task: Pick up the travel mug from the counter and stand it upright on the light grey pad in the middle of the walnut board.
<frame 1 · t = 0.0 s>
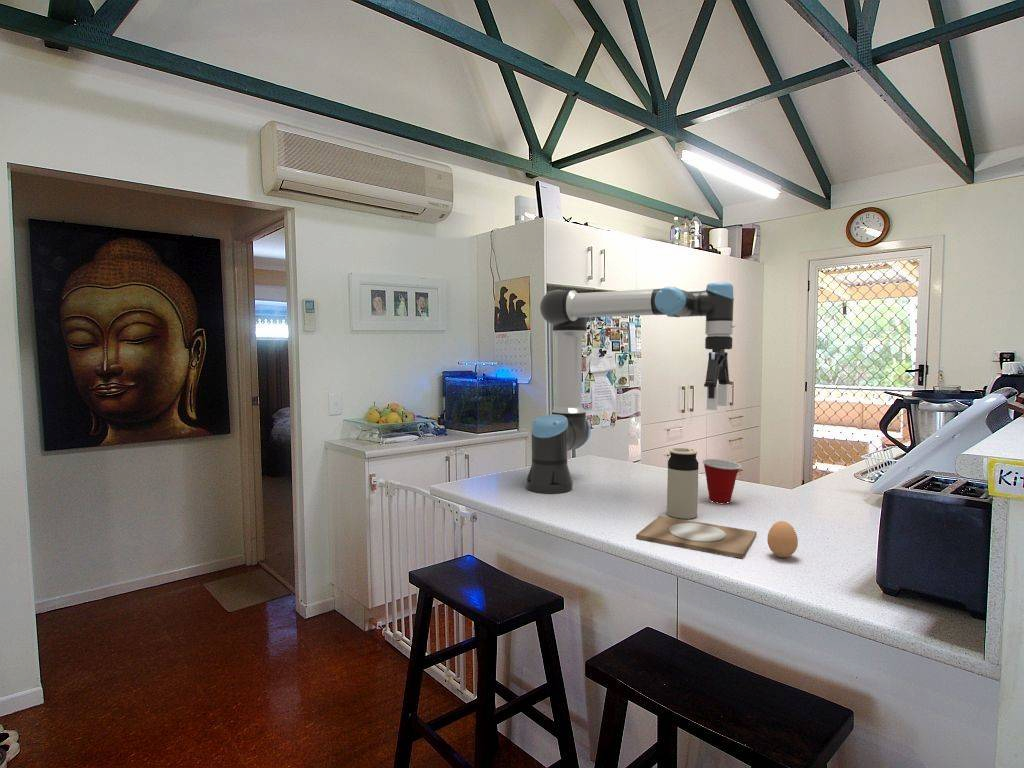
hand: (717, 407, 166), 28 cm above the countertop, tool pointing down, fingers open, 13 cm apart
walnut board: (696, 537, 135), on the countertop
egg: (781, 557, 123), on the countertop
plastic cup: (720, 502, 167), on the countertop
travel mug: (681, 516, 153), on the countertop
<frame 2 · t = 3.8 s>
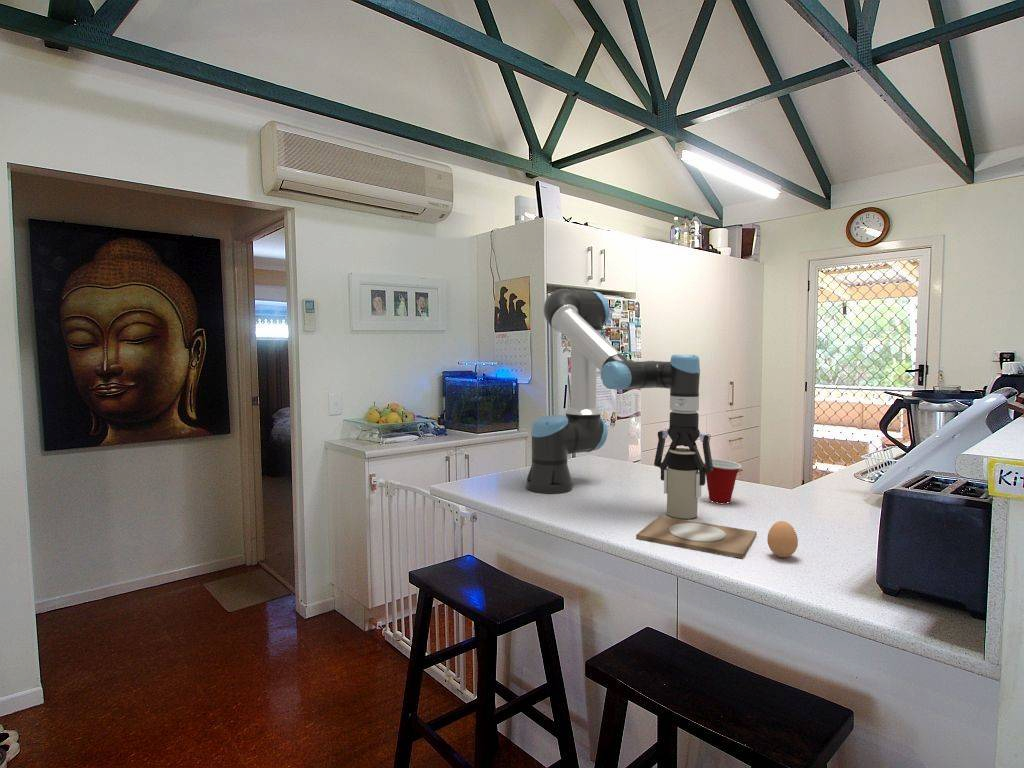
hand: (682, 494, 153), 6 cm above the countertop, tool pointing down, fingers closed on travel mug, 8 cm apart
travel mug: (681, 516, 153), on the countertop, touching gripper
everything else where it was.
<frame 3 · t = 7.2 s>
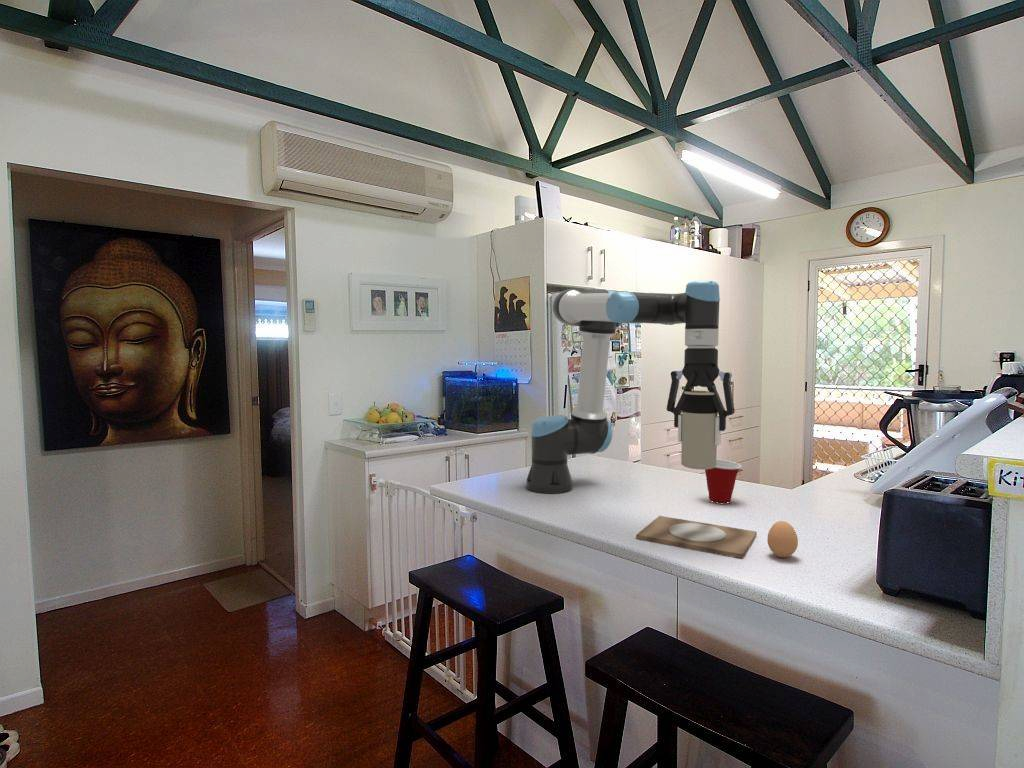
hand: (699, 442, 134), 23 cm above the countertop, tool pointing down, fingers closed on travel mug, 8 cm apart
travel mug: (698, 467, 134), point 17 cm above the countertop, touching gripper
everything else where it was.
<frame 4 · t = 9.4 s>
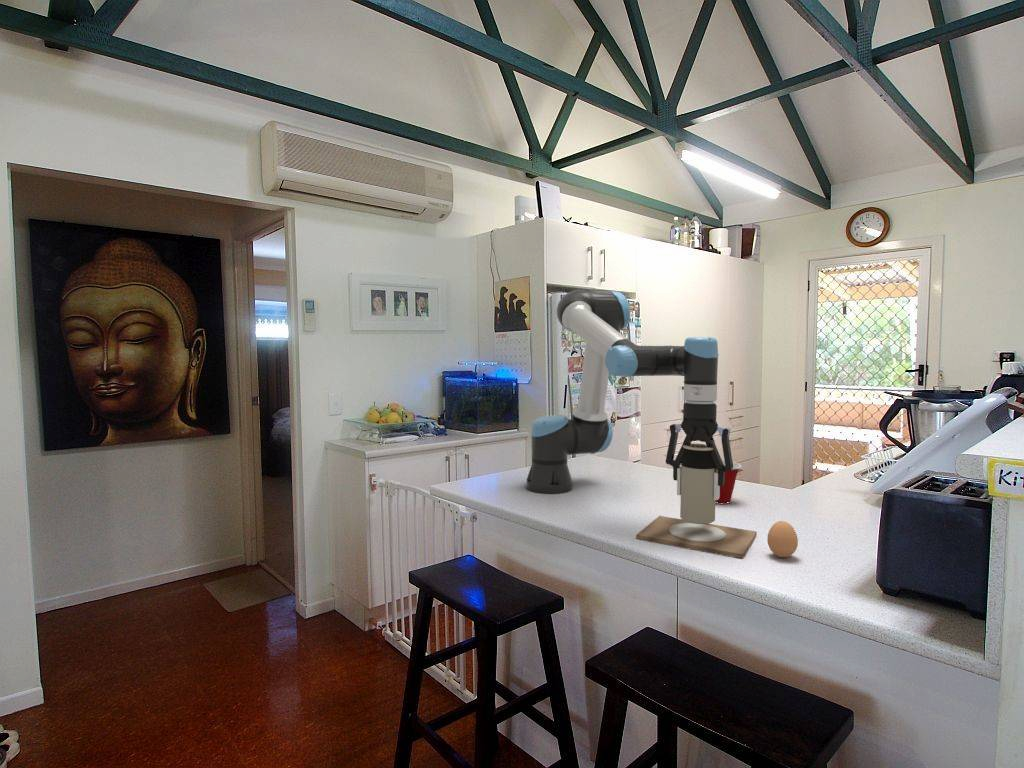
hand: (697, 496, 135), 10 cm above the countertop, tool pointing down, fingers closed on travel mug, 8 cm apart
travel mug: (697, 520, 135), point 4 cm above the countertop, touching gripper
everything else where it was.
when the fingers open (9 cm above the countertop, at t = 10.6 s): travel mug drops 1 cm, resting on walnut board.
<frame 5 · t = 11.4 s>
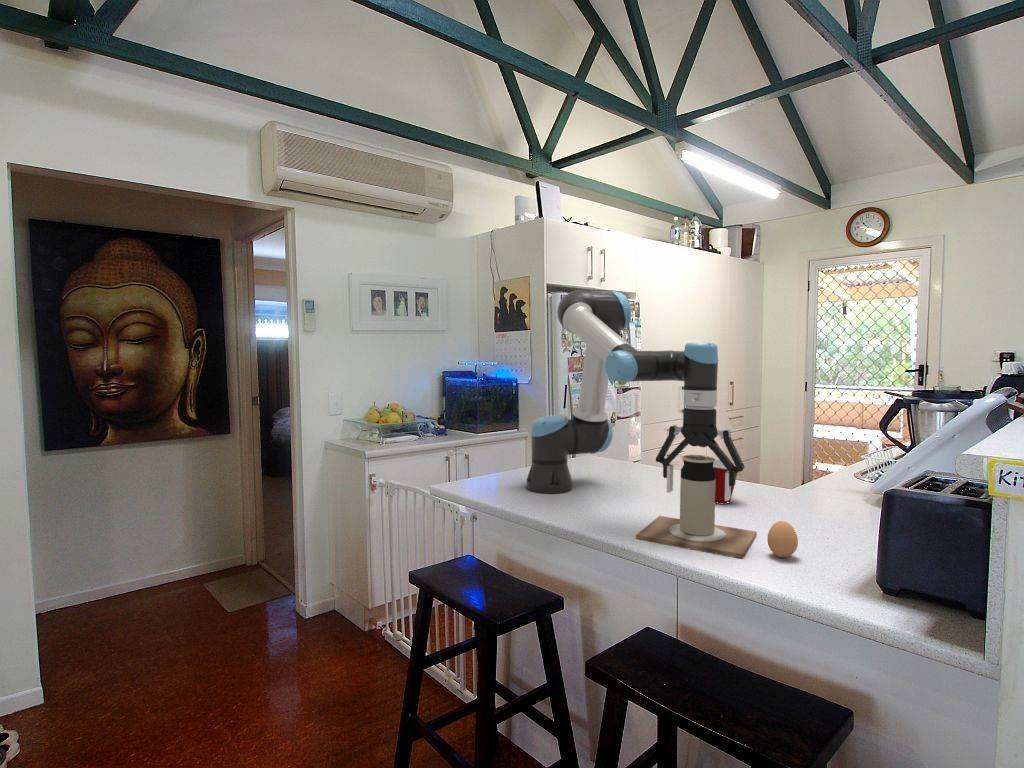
hand: (697, 495, 135), 10 cm above the countertop, tool pointing down, fingers open, 13 cm apart
travel mug: (696, 531, 135), point 1 cm above the countertop, touching walnut board
everything else where it was.
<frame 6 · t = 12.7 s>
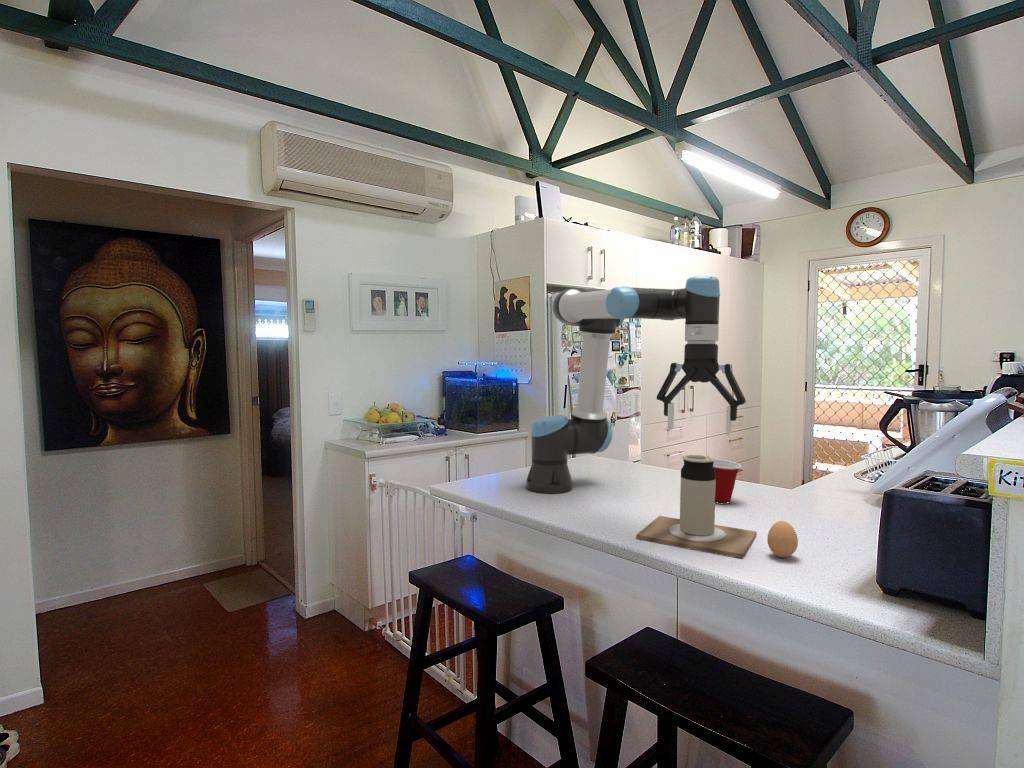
hand: (698, 432, 134), 26 cm above the countertop, tool pointing down, fingers open, 13 cm apart
nothing on the countertop moved.
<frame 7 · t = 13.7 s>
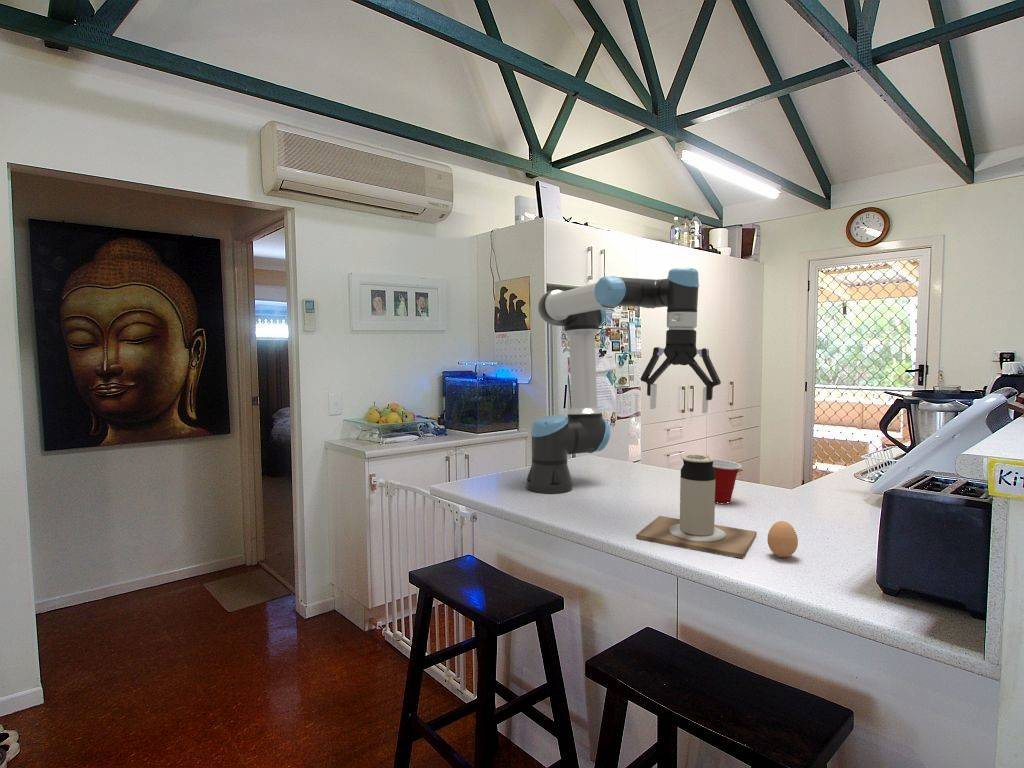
hand: (678, 410, 146), 29 cm above the countertop, tool pointing down, fingers open, 13 cm apart
nothing on the countertop moved.
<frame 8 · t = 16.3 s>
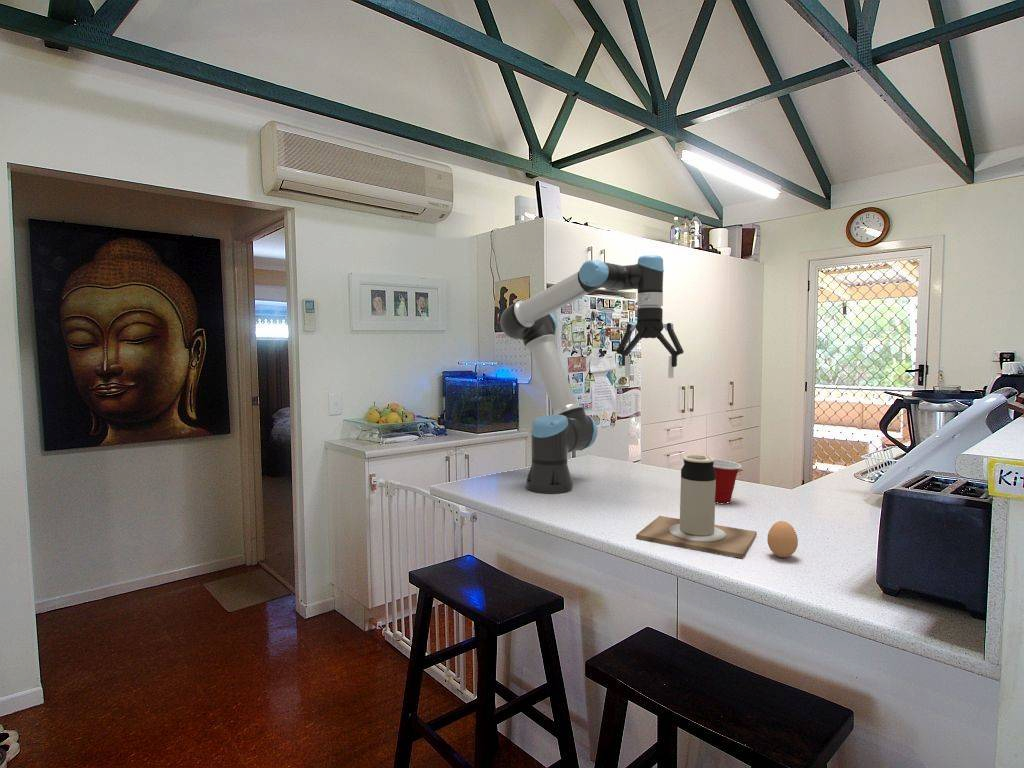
hand: (648, 377, 171), 37 cm above the countertop, tool pointing down, fingers open, 13 cm apart
nothing on the countertop moved.
at the end: travel mug inside the target area on the walnut board (0.1 cm from its centre), point 1.2 cm above the walnut board's base; travel mug tilted 0°; the gripper is holding nothing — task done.
